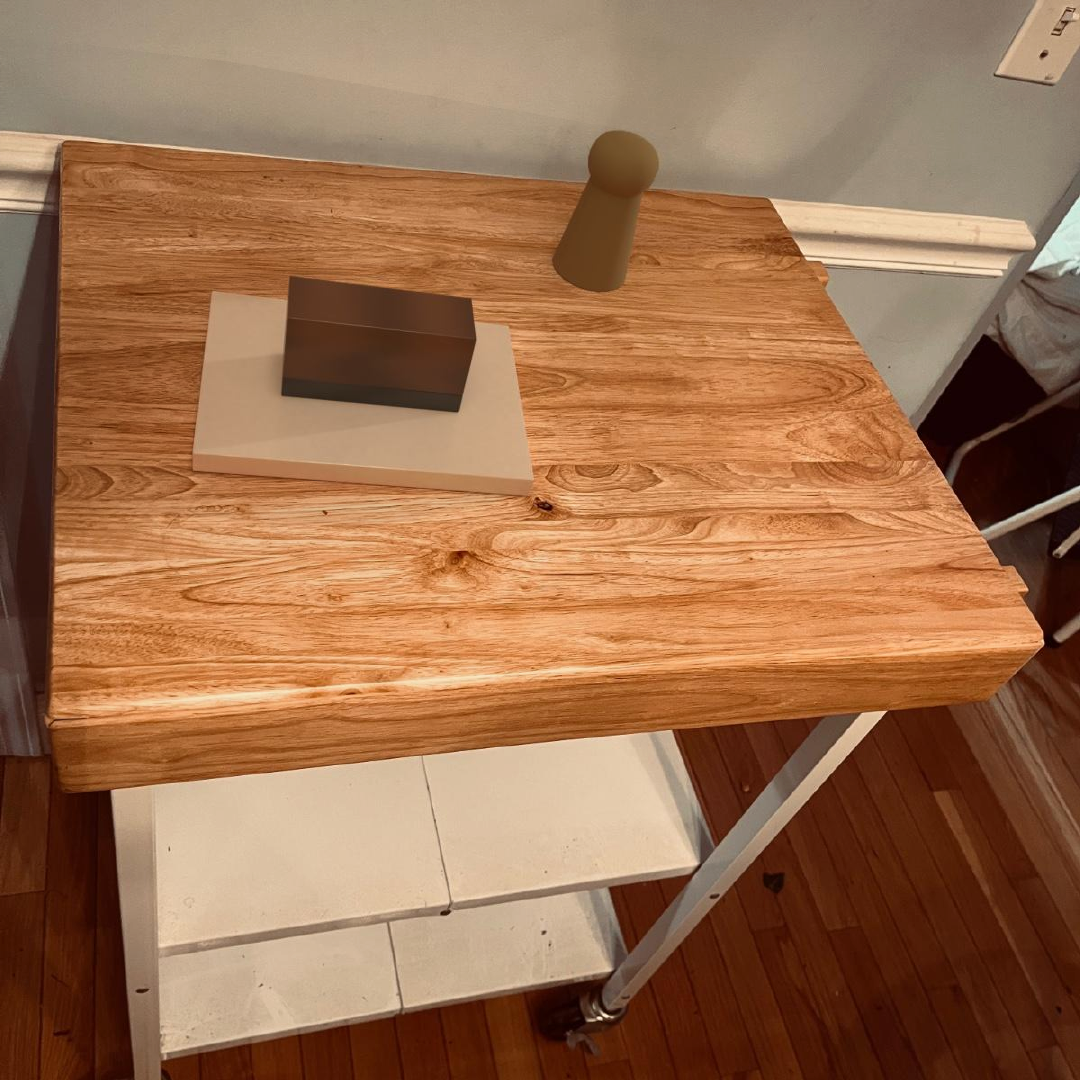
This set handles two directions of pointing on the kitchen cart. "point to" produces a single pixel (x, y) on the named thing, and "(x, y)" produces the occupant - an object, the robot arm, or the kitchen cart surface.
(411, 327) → the dark brown block
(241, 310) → the tile
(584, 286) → the olive brown pawn
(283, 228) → the kitchen cart surface
